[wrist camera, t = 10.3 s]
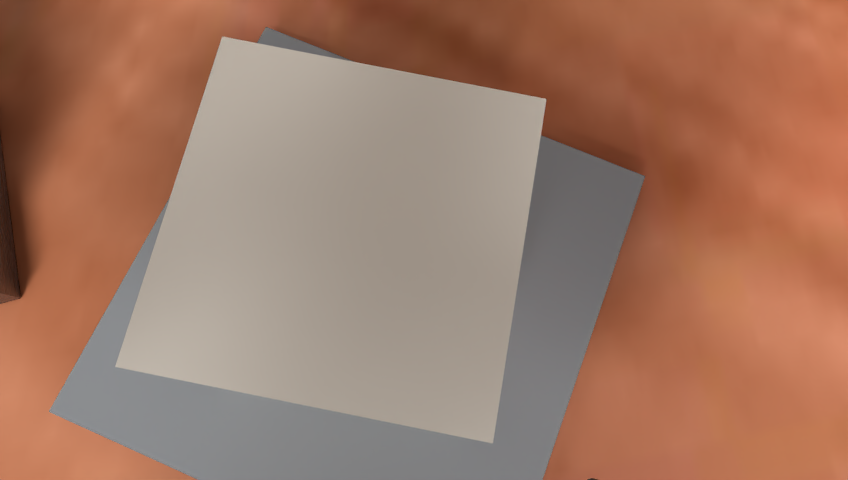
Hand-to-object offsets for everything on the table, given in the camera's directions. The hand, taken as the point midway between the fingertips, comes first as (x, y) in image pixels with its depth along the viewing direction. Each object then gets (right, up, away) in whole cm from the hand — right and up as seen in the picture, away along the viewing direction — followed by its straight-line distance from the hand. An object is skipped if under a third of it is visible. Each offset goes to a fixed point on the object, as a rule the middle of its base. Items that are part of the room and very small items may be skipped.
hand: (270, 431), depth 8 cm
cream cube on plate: (0, +1, +10) cm, 10 cm away
